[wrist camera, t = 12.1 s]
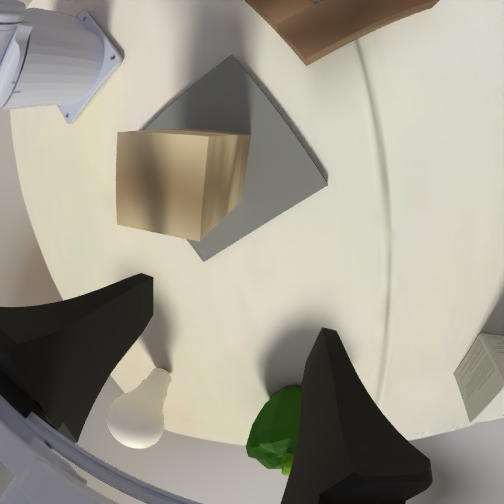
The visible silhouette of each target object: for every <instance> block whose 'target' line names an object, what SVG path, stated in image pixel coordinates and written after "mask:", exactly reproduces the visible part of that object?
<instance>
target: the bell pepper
mask: <svg viewBox="0 0 504 504" xmlns="http://www.w3.org/2000/svg"><path fill="white" fill-rule="evenodd" d="M301 396H302V387H298V386H292V387H285V388H284V389H282V390H280V391H279V392H277V393H276V394H274V395H273V396H272V397H271V399H270V400H269V401H268V402H266V403H265V405H264V406H263V408H262V409H261V411H260V412H259V414H258V416H257V418H256V419H255V421H254V423H253V425H252V428H251V431H250V434H249V438H248V441H247V445H246V449H247V453H248V456H249V457H252V458H255V459H257V460H258V461H259V462H260V463H261V464H262V465H264V466H265V467H266V468H268V469H281V468H282V474H284V475H289V474H290V471H291V467H292V463H293V458H294V454H295V449H296V445H297V440H298V434H299V426H300V411H301Z"/></svg>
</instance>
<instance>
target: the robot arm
mask: <svg viewBox="0 0 504 504" xmlns="http://www.w3.org/2000/svg"><path fill="white" fill-rule="evenodd" d="M114 56H115V58H114V59H113V57H114ZM121 63H122V56H121V55H120V54H119V52H118V51H117V50H116V48H115V47H114V46H113V44H112V43H111V42H110V41H109V39H108V38H107V37H106V35H105V34H104V33H103V31H102V30H101V29H100V27H99V26H98V25H97V24H96V22H95V21H94V20H93V18H92V17H91V16H90V14H89V13H88V12H87V11H85V10H83V11H81V12H80V13H79V14H78V16H77V17H74V16H70V15H66V14H62V13H58V12H54V11H49V10H44V9H39V8H29V9H26V6H25V4H24V3H23V2H20V1H18V0H0V111H2V110H9V109H17V108H26V107H37V106H50V105H57V106H58V107H59V109H60V111H61V113H62V115H63V116H64V118H65V120H66V122H67V123H68V124H72V123H73V122H74V121H75V120H76V118H77V117H78V115H79V114H80V113H81V111H82V110H83V109H84V107H85V106H86V105H87V103H88V102H89V101H90V99H91V98H92V97H93V96H94V94H95V93H96V92H97V91H98V89H99V88H100V87H101V86H102V85H103V83H104V82H105V81H106V80H107V79H108V78H109V76H110V75H111V74H112V73H113V72H114V71H115V70H116V68H117V67H118V66H119V65H120V64H121ZM68 114H69V116H68ZM152 316H153V277H151V276H148V275H145V274H143V273H140V274H137V275H134V276H132V277H129V278H126V279H124V280H121V281H119V282H116V283H114V284H111V285H109V286H106V287H104V288H101V289H99V290H96V291H93V292H90V293H87V294H84V295H82V296H78V297H75V298H72V299H68V300H64V301H60V302H55V303H49V304H43V305H37V306H28V307H0V461H1V462H2V463H3V464H4V465H5V466H6V467H7V468H8V469H9V470H10V471H11V472H12V473H13V474H14V476H15V477H14V478H13V480H12V482H11V483H10V484H9V486H8V487H7V489H6V490H5V492H4V494H3V495H2V497H1V498H0V504H119V503H117V502H115V501H113V500H111V499H109V498H107V497H105V496H104V495H102V494H100V493H98V492H97V491H95V490H93V489H91V488H90V487H88V486H87V485H86V484H87V480H86V479H84V478H83V477H82V476H80V475H79V474H78V473H77V472H76V471H75V470H73V468H72V467H71V466H70V465H69V463H67V462H66V461H65V460H63V459H62V458H61V457H60V456H58V455H57V454H56V453H55V452H53V451H52V449H54V450H55V451H57V452H58V453H60V454H61V455H62V456H63V457H65V458H66V459H68V460H69V461H71V462H72V463H74V464H75V465H77V466H78V467H80V468H81V469H83V470H84V471H86V472H88V473H89V474H91V475H93V476H94V477H96V478H98V479H99V480H101V481H103V482H105V483H106V484H108V485H110V486H112V487H114V488H116V489H118V490H119V491H121V492H123V493H125V494H127V495H130V496H132V497H134V498H136V499H138V500H140V501H142V502H145V503H147V504H202V503H199V502H196V501H192V500H190V499H186V498H184V497H181V496H178V495H175V494H173V493H170V492H167V491H165V490H162V489H160V488H158V487H155V486H153V485H150V484H148V483H146V482H144V481H141V480H139V479H137V478H135V477H133V476H131V475H129V474H127V473H125V472H123V471H121V470H119V469H117V468H115V467H113V466H111V465H110V464H108V463H106V462H104V461H102V460H101V459H99V458H97V457H96V456H94V455H92V454H91V453H89V452H87V451H86V450H84V449H83V448H81V447H79V446H78V445H76V444H75V443H77V442H78V439H79V436H80V434H81V431H82V429H83V426H84V424H85V421H86V419H87V417H88V415H89V412H90V410H91V408H92V406H93V404H94V402H95V400H96V398H97V396H98V395H99V393H100V391H101V389H102V387H103V385H104V384H105V382H106V380H107V379H108V377H109V375H110V374H111V372H112V371H113V369H114V368H115V366H116V365H117V364H118V363H119V361H120V360H121V359H122V358H123V356H124V355H125V354H126V353H127V351H128V350H129V349H130V348H131V346H132V345H133V344H134V343H135V341H136V340H137V339H138V337H139V336H140V335H141V334H142V332H143V331H144V329H145V328H146V326H147V324H148V323H149V321H150V319H151V317H152ZM51 448H52V449H51ZM431 484H432V471H431V464H430V459H428V458H427V457H426V456H425V455H424V454H422V453H421V452H420V451H419V450H417V449H416V448H415V447H414V446H413V445H411V444H410V443H409V442H408V441H407V440H406V439H405V438H404V437H403V436H402V435H401V434H400V433H399V432H398V431H397V430H396V429H395V428H394V426H393V425H392V424H391V423H390V422H389V421H388V419H387V418H386V417H385V416H384V415H383V413H382V412H381V411H380V409H379V408H378V407H377V405H376V404H375V402H374V401H373V400H372V398H371V397H370V395H369V394H368V392H367V390H366V389H365V387H364V385H363V384H362V382H361V380H360V379H359V377H358V375H357V373H356V371H355V369H354V367H353V365H352V363H351V361H350V359H349V357H348V355H347V353H346V350H345V348H344V346H343V344H342V342H341V339H340V337H339V335H338V333H337V331H335V330H331V329H327V328H323V327H322V329H321V331H320V333H319V335H318V338H317V340H316V342H315V344H314V346H313V348H312V350H311V352H310V355H309V357H308V359H307V361H306V365H305V370H304V376H303V382H302V396H301V411H300V426H299V434H298V440H297V445H296V449H295V454H294V458H293V463H292V467H291V471H290V474H289V478H288V482H287V485H286V488H285V492H284V495H283V498H282V501H281V504H405V501H406V500H408V499H410V498H412V497H414V496H416V495H417V494H419V493H421V492H423V491H424V490H426V489H427V488H428V487H429V486H430V485H431Z"/></svg>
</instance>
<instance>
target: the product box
mask: <svg viewBox="0 0 504 504" xmlns="http://www.w3.org/2000/svg"><path fill="white" fill-rule="evenodd" d="M454 376H455V378H456V381H457V384H458V387H459V390H460V393H461V396H462V399H463V402H464V405H465V408H466V411H467V415H468V418H469V422H470V423H474V422H481V421H491V420H494V419H499V418H504V335H494V334H487V333H480V334H479V335H478V336H477V338H476V340H475V341H474V343H473V345H472V346H471V348H470V350H469V351H468V353H467V354H466V356H465V358H464V359H463V360H462V362H461V363H460V365H459V366H458V368H457V369H456V371H455V372H454Z"/></svg>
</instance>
